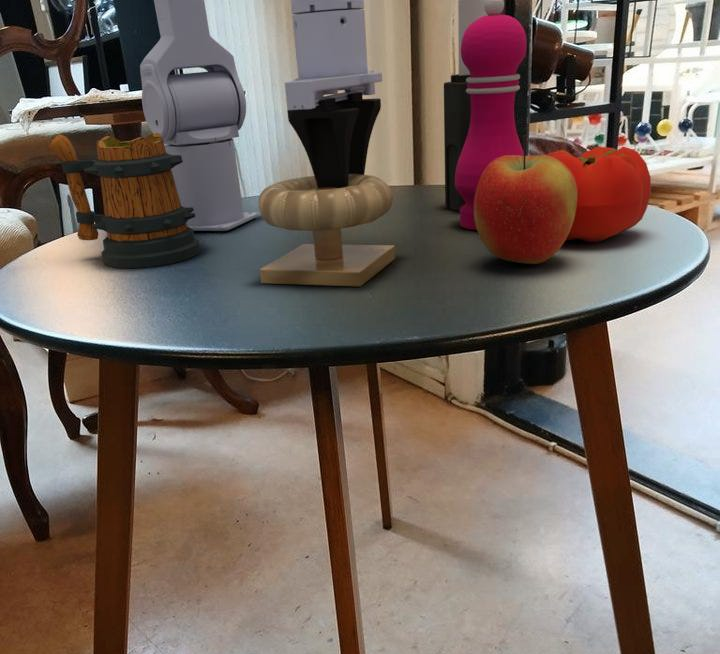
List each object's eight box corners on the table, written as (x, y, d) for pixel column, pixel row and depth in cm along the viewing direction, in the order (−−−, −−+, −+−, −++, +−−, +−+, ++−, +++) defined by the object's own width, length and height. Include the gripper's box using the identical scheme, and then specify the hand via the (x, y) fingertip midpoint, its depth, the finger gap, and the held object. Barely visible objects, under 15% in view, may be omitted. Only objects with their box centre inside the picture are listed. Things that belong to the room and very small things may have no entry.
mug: (215, 241, 80) (196, 120, 75) (185, 266, 72) (161, 131, 66) (98, 247, 82) (70, 129, 76) (54, 272, 73) (20, 141, 68)
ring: (237, 233, 62) (232, 194, 61) (295, 207, 71) (291, 172, 70) (364, 235, 58) (362, 193, 57) (408, 206, 67) (407, 170, 66)
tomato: (530, 252, 67) (534, 161, 64) (524, 226, 77) (527, 145, 73) (657, 248, 66) (668, 154, 62) (635, 221, 75) (644, 138, 72)
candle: (441, 207, 88) (437, -56, 76) (479, 200, 90) (481, -58, 78) (464, 213, 84) (464, -64, 72) (504, 206, 86) (510, -65, 74)
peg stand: (260, 283, 65) (249, 200, 61) (304, 256, 72) (296, 181, 69) (360, 287, 62) (354, 199, 58) (395, 258, 69) (392, 179, 66)
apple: (585, 254, 66) (595, 126, 61) (555, 279, 60) (562, 139, 55) (496, 249, 70) (498, 128, 65) (459, 271, 64) (459, 140, 59)
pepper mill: (540, 225, 77) (551, -12, 67) (476, 235, 75) (478, -8, 65) (503, 214, 83) (508, -5, 73) (442, 223, 81) (439, -1, 71)
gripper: (341, 6, 53) (355, 210, 60) (404, 9, 65) (410, 179, 72) (251, 15, 56) (274, 210, 62) (327, 16, 67) (340, 180, 74)
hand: (342, 194), depth 67 cm, fingers closed on ring, 3 cm apart
